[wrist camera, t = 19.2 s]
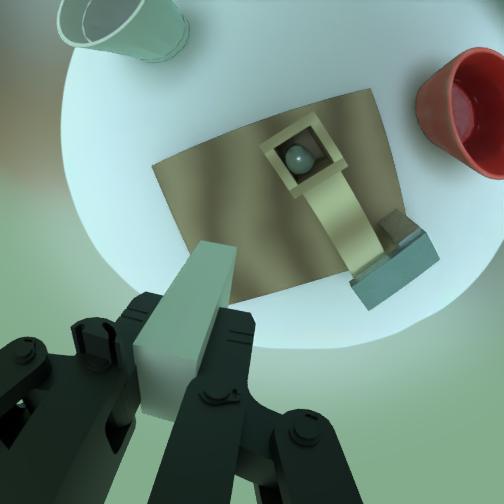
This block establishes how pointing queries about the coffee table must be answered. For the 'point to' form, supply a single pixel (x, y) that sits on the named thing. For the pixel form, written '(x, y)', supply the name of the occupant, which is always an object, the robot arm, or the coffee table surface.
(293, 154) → the pin
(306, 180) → the link
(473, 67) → the flower pot
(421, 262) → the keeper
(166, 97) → the coffee table surface
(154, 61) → the cup
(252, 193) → the board
